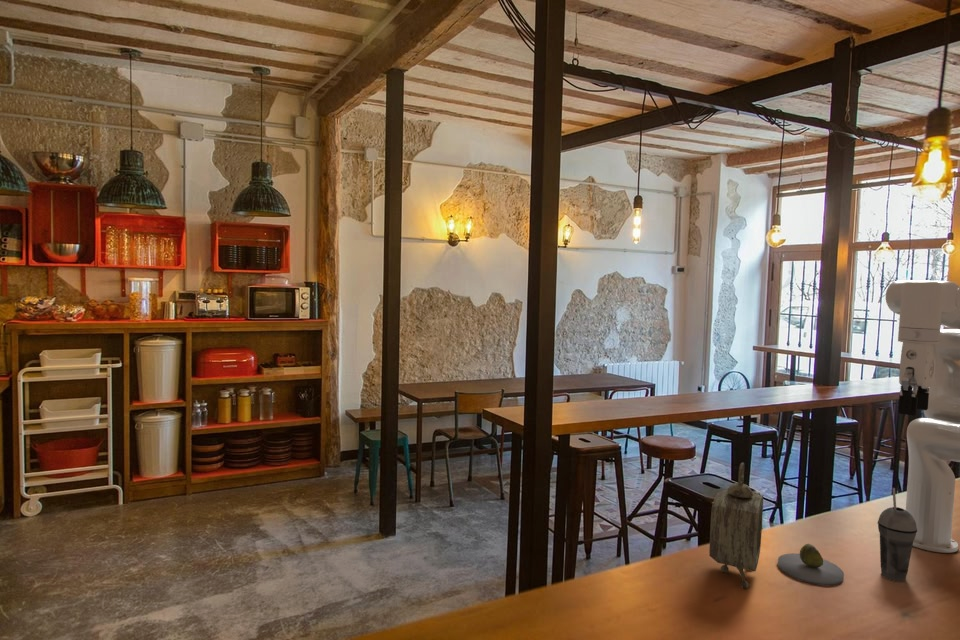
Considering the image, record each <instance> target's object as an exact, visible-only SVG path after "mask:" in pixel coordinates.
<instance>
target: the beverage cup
mask: <svg viewBox="0 0 960 640" xmlns="http://www.w3.org/2000/svg"><path fill="white" fill-rule="evenodd" d="M892 501H893V506H892V507H891V506H890V507H887V508H886V509H884V510H882V511H881V513H880V515H879V517H878V520H877V525H878V526H877V529H878V532H879V533H878V534H879V554H880V555H879V556H880V557H879V558H880V572H881V573H880V575H881V577H883V578H884V579H887V580H889V581H893V582H895V583H896V582H897V583H905V582H906V581H907V580H906V579H907V575H908V572H909V566H910V562H911V556H912V549H913V546H912V545H913V540H914V539H915V536H916V532H917V526H916V522H915V519H914V518H913V516H912V515H911V514H910V513H909V512H907V511H906V509H904V508H901V507H897V496H896V488H895V487H892Z"/></svg>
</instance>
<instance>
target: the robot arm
mask: <svg viewBox="0 0 960 640" xmlns="http://www.w3.org/2000/svg"><path fill="white" fill-rule="evenodd" d="M885 302H886V303H885V304H886V305H887V307H888V309H889V310H890V311H891V312H893V313H895V314H896V315H899V323H898V333H897V342H900V343H902V347H901V354H900V364H899V374H898V382H899V383H898V384H899V385H900V391H899V397H898V414H901V415H905V416H906V415H907V416H911V417H912V416H916V415H917V411H918V410H920V411H923V414H924V417H919V418H915V419H913V420H912V421H910V422H909V424H908V426H907V427H906V428H907V429H906V440H907V450H908V470H907V471H908V472H907V473H908V474H907V486H906V499H905V510H906V511H907V512H909V513H910V514H911V515H912V516H913V518H914V519H915V522H916V526H917V532H916V536H915V539H914V540H913V545H912V547H914V548H918V549H920V550H924V551H928V552H934V553H941V554H942V553H943V554H951V553H956V552H958V551H959V543H958V542H957V541H956V540H954V539H953V538H952V531H953V519H954V518H953V516H954V507H955V506H954V503H955V491H956V477H955V474H954V472H953V470H952V469H951V466H949V464H948V462H947V461H951V462H957V463H960V365H959V364H958V363H956V362H960V285H958V283H956V282H953V281H950V280H949V281H948V280H922V279H921V280H919V279H918V280H917V279H916V280H914V279H913V280H911V279H910V280H909V279H908V280H905V279H900V280H895V281H893V282H892V283H890V284H889V285H888V287H887V288H886V291H885ZM941 326H942V327H945V328H946V329H943V328H941ZM947 328H948V329H947ZM955 361H956V362H955Z"/></svg>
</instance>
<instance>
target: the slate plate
mask: <svg viewBox="0 0 960 640" xmlns="http://www.w3.org/2000/svg"><path fill="white" fill-rule="evenodd" d="M777 567H778V568H779V569H780V571H781V572H782V573H783V574H786V575H787V576H788V577H791V578H793V579H796V580H798V581H801V582H805V583H808V584H811V585H818V586H837V585H840V584H841V583H843V582H844V578H845V577H844V576H845V573H844V571H843V569H841V568H840V567H839V566H838V565H836V564H835V563H833V562H831V561H829V560H826V559H824V558H823V565H822V566H820V567H817V568H815V567H811V566H809V565H806V564H804V563H803V562H802V560H801V558H800V553H785V554H781V555H780V556H778V559H777Z"/></svg>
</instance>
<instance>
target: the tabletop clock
mask: <svg viewBox="0 0 960 640" xmlns="http://www.w3.org/2000/svg"><path fill="white" fill-rule="evenodd" d="M737 474H738V479H737V481H738V482H734V483H733V484H731V485H730V486H728V488H727V489H723V490H720V491H718V492H717V494H716V496H715V497H714V500H713V501H712V506H711V515H710V527H709V528H710V529H709V530H710V531H709V549H708V550H709V552H708V553H709V557H711V559H712V560H714V561H715V562H717V563H718V564H722V565H721V566H720V571H721V572H722V573H724V574H726V573H727V574H728V572H729V571H730V570H729V567H728V566H730V567H734V568H736V569H737V570H738V573H739V575H740V577H741V582H740V585H741V587H742V588H743V589H749V588H750V583H749V581H748V580H746V578H745V573H744V572H745V571H744V570H747V571H751V572H755V573H756V571H757V567H758V565H759V564H758V563H759V559H760V554H761V545H762V544H761V543H762V530H763V515H764V513H763V512H764V495H762V494H758V493H757V494H756V493H753V491H752V489H751V488H750V487H749V485H747V484H746V483H744V482H745V481H744V480H745V478H744V477H745V463H744V462H741V463H740V464H739V468H738V473H737Z"/></svg>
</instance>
